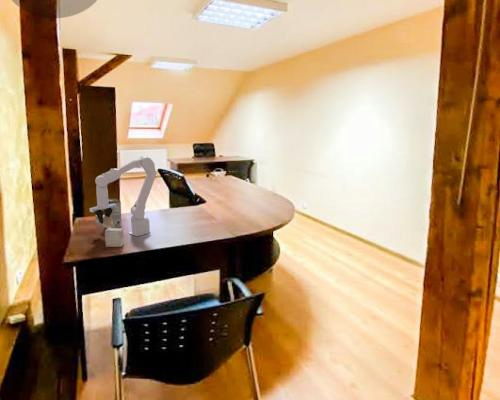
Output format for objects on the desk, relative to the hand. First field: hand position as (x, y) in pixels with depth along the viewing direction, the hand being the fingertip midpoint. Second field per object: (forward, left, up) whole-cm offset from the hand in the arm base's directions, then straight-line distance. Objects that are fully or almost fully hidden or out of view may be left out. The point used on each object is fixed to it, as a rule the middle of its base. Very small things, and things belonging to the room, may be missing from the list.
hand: (104, 222), depth 200 cm
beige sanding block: (0, 0, -2) cm, 2 cm away
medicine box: (+4, +16, -9) cm, 19 cm away
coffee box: (-15, -15, -9) cm, 23 cm away
